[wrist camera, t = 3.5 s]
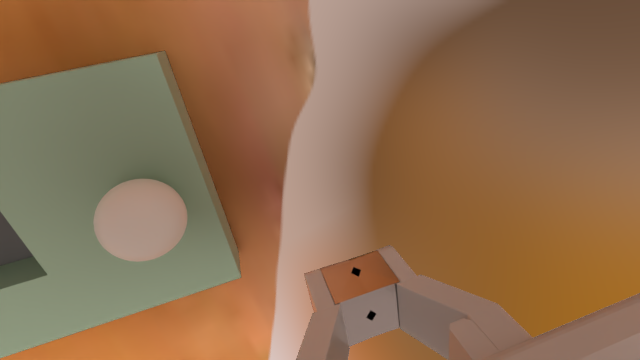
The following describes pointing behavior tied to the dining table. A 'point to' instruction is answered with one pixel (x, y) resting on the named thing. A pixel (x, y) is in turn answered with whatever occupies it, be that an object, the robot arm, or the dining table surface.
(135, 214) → the ball
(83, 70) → the putting deck
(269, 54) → the dining table surface
